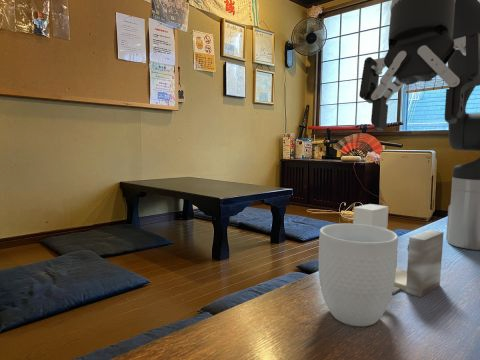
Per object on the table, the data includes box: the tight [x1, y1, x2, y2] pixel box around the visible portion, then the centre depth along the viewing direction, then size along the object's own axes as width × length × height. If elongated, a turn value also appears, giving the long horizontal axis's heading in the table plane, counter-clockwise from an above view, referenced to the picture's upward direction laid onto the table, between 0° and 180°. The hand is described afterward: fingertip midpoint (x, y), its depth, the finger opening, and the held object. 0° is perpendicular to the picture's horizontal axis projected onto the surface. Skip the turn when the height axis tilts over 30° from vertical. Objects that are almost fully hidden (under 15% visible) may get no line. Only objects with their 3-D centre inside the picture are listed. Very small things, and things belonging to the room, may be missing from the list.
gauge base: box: [392, 229, 444, 298], centre depth 65 cm, size 14×10×10 cm
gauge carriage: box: [352, 203, 389, 229], centre depth 68 cm, size 4×10×12 cm, turn 129°
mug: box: [317, 223, 399, 327], centre depth 52 cm, size 15×11×13 cm
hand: (412, 125), depth 44 cm, fingers open, 8 cm apart
